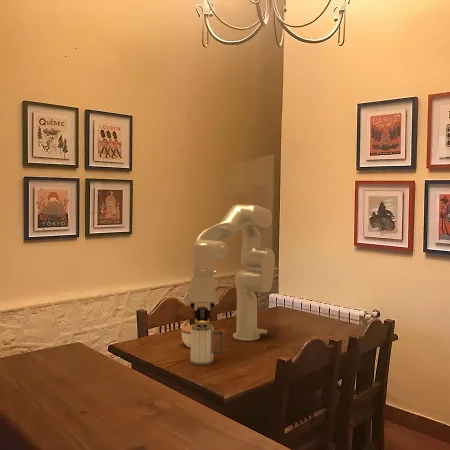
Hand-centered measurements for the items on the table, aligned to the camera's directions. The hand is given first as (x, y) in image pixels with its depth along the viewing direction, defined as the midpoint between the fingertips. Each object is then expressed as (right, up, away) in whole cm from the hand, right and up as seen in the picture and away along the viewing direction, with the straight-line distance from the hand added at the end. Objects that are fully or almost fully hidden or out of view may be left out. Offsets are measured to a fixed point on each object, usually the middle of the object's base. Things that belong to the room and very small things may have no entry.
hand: (202, 319), depth 198 cm
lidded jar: (-5, -16, +22) cm, 27 cm away
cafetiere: (+1, -17, +1) cm, 17 cm away
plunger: (0, -16, +1) cm, 16 cm away
